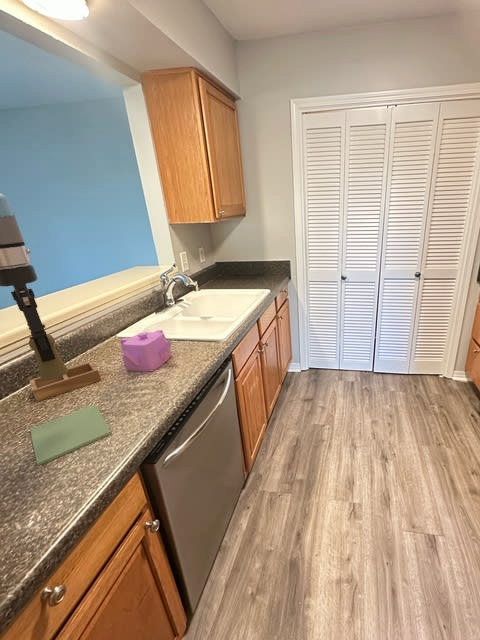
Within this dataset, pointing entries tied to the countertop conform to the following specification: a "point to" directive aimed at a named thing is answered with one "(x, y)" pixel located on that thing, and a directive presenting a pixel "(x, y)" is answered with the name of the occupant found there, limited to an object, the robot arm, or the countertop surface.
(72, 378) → the box
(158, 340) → the purple knobbed polyhedron
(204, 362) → the countertop surface
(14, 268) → the robot arm
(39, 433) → the drying mat
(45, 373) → the cork
